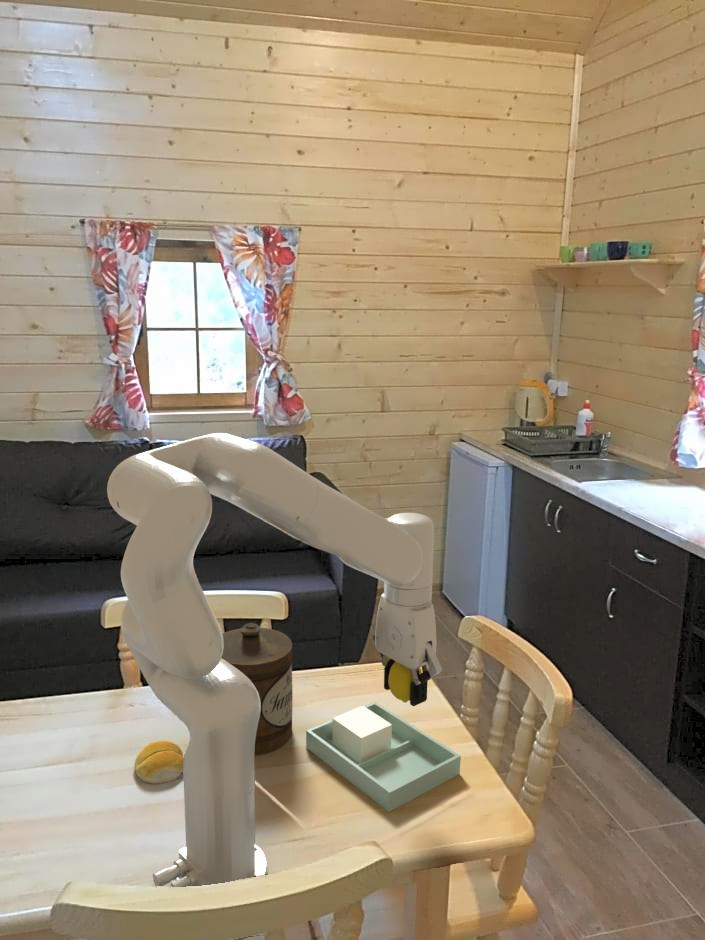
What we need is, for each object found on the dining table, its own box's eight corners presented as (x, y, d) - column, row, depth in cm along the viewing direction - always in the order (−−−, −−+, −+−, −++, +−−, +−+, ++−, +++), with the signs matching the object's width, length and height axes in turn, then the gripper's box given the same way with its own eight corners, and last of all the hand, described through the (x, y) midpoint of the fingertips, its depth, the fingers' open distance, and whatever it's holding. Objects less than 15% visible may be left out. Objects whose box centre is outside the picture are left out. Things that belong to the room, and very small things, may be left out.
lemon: (419, 712, 128) (421, 667, 126) (385, 708, 129) (386, 663, 127) (423, 695, 133) (425, 651, 131) (391, 691, 134) (391, 647, 132)
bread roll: (179, 749, 142) (178, 729, 141) (189, 779, 134) (188, 757, 133) (131, 759, 139) (130, 738, 138) (138, 789, 131) (137, 768, 130)
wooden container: (289, 759, 139) (289, 643, 134) (204, 758, 139) (200, 642, 134) (294, 714, 154) (295, 607, 148) (217, 713, 153) (215, 606, 148)
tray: (388, 815, 125) (389, 792, 124) (306, 750, 142) (306, 730, 141) (459, 776, 135) (460, 755, 134) (374, 720, 152) (375, 701, 151)
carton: (360, 764, 137) (361, 738, 136) (332, 743, 143) (332, 718, 142) (391, 749, 142) (392, 724, 140) (362, 729, 148) (362, 705, 146)
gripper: (355, 580, 130) (354, 681, 135) (428, 615, 117) (425, 725, 122) (389, 570, 135) (387, 667, 139) (464, 603, 122) (459, 709, 126)
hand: (405, 693), depth 130 cm, fingers closed on lemon, 5 cm apart
